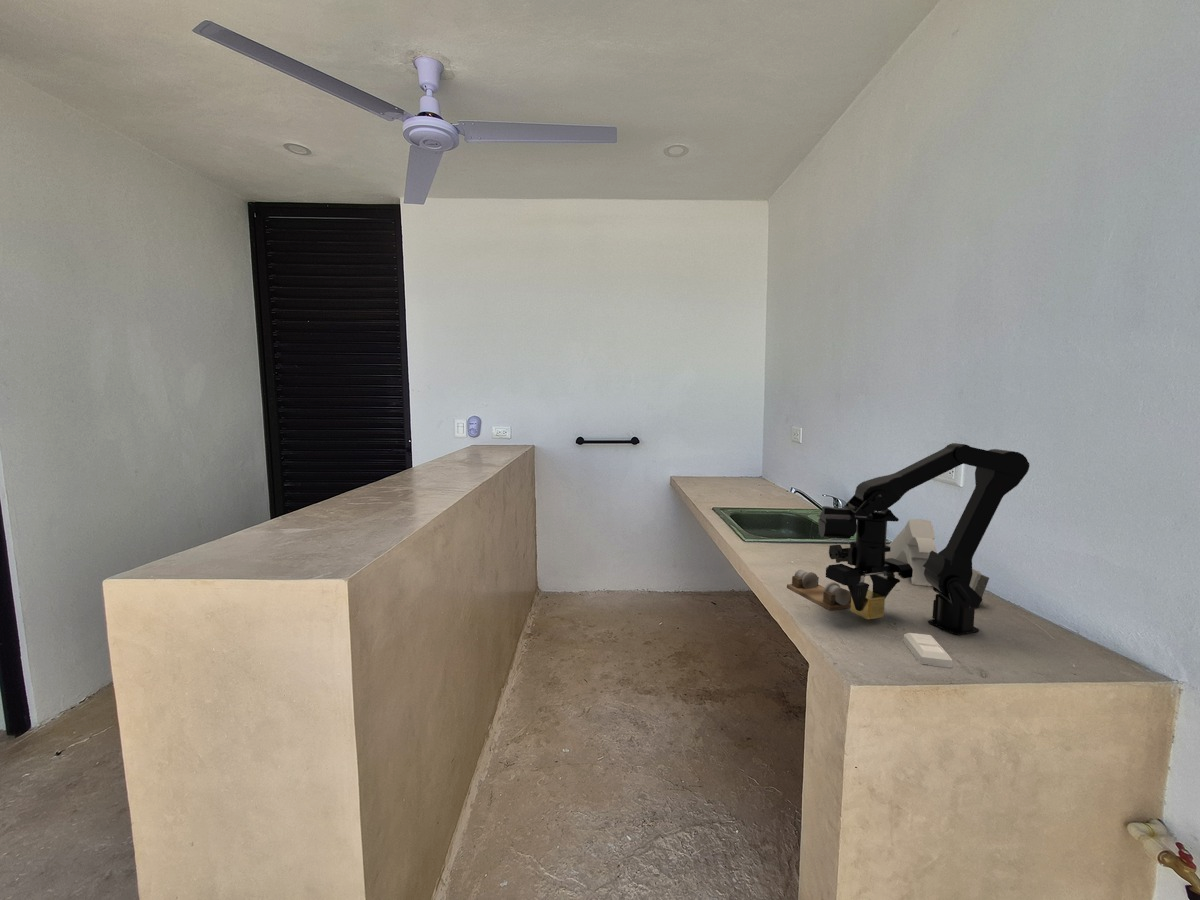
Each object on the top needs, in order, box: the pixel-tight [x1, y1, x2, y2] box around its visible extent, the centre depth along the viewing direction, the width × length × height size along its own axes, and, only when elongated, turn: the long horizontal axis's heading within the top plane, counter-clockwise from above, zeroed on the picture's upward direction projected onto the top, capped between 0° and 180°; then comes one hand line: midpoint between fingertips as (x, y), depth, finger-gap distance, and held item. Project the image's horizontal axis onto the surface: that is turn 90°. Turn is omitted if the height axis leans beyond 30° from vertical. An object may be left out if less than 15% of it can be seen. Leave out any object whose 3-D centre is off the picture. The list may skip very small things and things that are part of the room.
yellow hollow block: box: [850, 589, 886, 620], centre depth 106 cm, size 5×4×4 cm
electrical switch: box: [970, 567, 990, 599], centre depth 117 cm, size 9×5×9 cm, turn 0°
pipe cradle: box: [786, 569, 851, 611], centre depth 119 cm, size 15×8×5 cm, turn 17°
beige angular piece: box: [886, 518, 938, 587], centre depth 134 cm, size 6×16×20 cm
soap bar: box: [903, 632, 954, 669], centre depth 92 cm, size 5×9×3 cm, turn 166°
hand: (867, 609), depth 106 cm, fingers closed on yellow hollow block, 4 cm apart
